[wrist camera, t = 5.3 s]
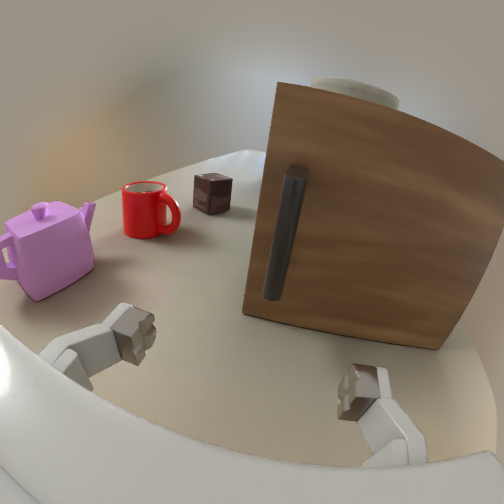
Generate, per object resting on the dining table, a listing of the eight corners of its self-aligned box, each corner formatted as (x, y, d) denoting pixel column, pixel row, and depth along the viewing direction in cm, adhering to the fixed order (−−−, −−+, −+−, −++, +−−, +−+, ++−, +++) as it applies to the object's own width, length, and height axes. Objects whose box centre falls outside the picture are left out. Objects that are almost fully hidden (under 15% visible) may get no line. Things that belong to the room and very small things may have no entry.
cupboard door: (450, 383, 22) (552, 186, 11) (227, 348, 25) (265, 67, 14) (437, 344, 28) (514, 169, 17) (243, 307, 31) (278, 83, 20)
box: (230, 211, 59) (233, 178, 56) (207, 215, 55) (210, 181, 52) (213, 202, 63) (216, 172, 59) (191, 206, 59) (193, 174, 55)
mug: (166, 250, 41) (166, 201, 37) (115, 231, 44) (112, 188, 40) (193, 232, 47) (195, 189, 44) (143, 217, 50) (143, 178, 47)
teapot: (83, 238, 40) (77, 180, 35) (119, 259, 36) (114, 191, 32) (-3, 284, 25) (-22, 218, 20) (19, 319, 22) (-9, 241, 17)
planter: (385, 235, 61) (417, 105, 45) (308, 229, 56) (339, 72, 40) (344, 203, 79) (366, 100, 64) (278, 196, 74) (298, 80, 59)
